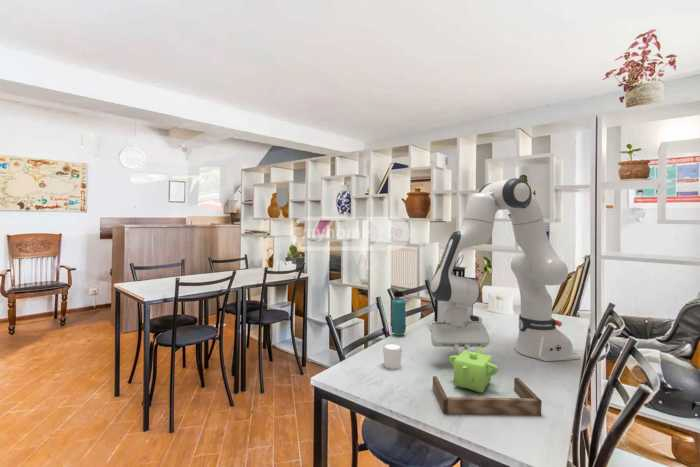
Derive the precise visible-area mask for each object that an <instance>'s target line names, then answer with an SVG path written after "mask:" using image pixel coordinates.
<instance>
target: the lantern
mask: <svg viewBox="0 0 700 467" xmlns="http://www.w3.org/2000/svg"><path fill="white" fill-rule="evenodd" d="M460 259H461V260H460ZM463 259H464V255H460V257H459V258H457V259H456V262H455V265H454V267H453V270H452V273H451V274H452V275H453V276H458V277H464V278H469V279H473V280H476V281H477V279H478V277H468V276H466V274H465V273H466V269H467V267H466V266H465V267H464V266H461V264H462V262H463V261H464V260H463ZM459 260H460V262H459ZM458 262H459V265H458V266H456V264H457V263H458ZM473 306H474V304H473V305H472V306H470V307H467V308H466V312H467V313H468V314H471V315H474V314H473V313H474V310H473V309H474V307H473ZM433 319H434V320H433V321H436V322H439V321H444V319H443V309H442V307H441V303H440V301H438V300H436V299H435V298H434V318H433Z"/></svg>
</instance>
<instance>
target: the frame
mask: <svg viewBox="0 0 700 467" xmlns="http://www.w3.org/2000/svg"><path fill="white" fill-rule="evenodd" d="M440 382H441V381H440V380H439V378H438V377H437V375H435V376H432V392H433V393H434V395H435V398H436V401H437V402H438V404H439V408H440V409H441V411H442V414H446V415H447V414H454V415H455V414H456V415H503V416H504V415H510V416H512V415H513V416H542V402H543V401H542V400H541V399H540V398H539V396H538V395H536V393H534V392H533V390H531V389H530V388H529V387H528V386H527V385H526V384H525V382H524V381H522V380H521V379H520V378H519V377H514V384H513V391H514V392H515V393H516V394H517V395H518V396H519V398H518V397H517V398H515V397H467V396H466V397H465V396H462V397H460V396H459V397H457V396H448V395H446V394H447V393H446V392H445V390H444V388H443V386H442V385H441V383H440Z"/></svg>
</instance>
